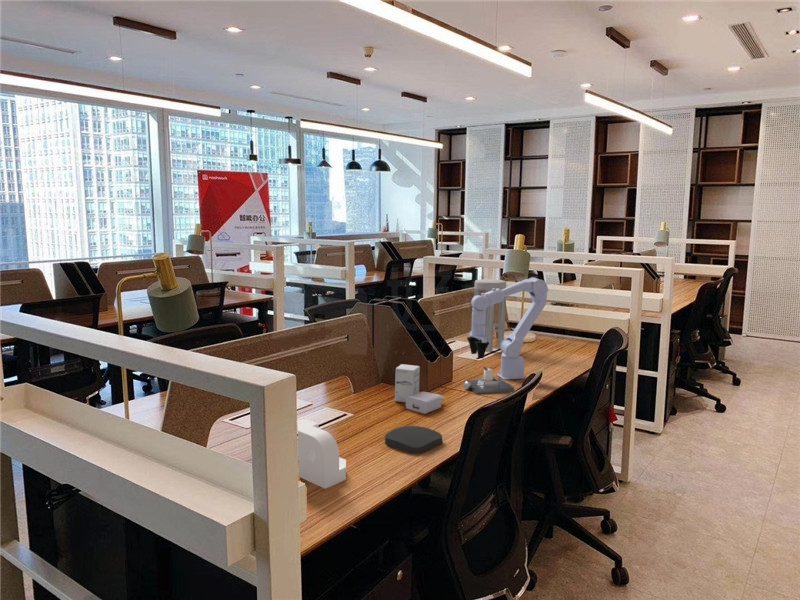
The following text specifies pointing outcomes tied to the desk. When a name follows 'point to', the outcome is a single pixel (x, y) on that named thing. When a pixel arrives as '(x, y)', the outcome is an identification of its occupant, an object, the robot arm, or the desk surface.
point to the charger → (424, 402)
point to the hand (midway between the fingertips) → (477, 355)
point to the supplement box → (406, 381)
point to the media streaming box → (413, 439)
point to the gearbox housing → (488, 386)
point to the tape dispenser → (319, 456)
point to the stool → (492, 310)
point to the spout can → (488, 374)
